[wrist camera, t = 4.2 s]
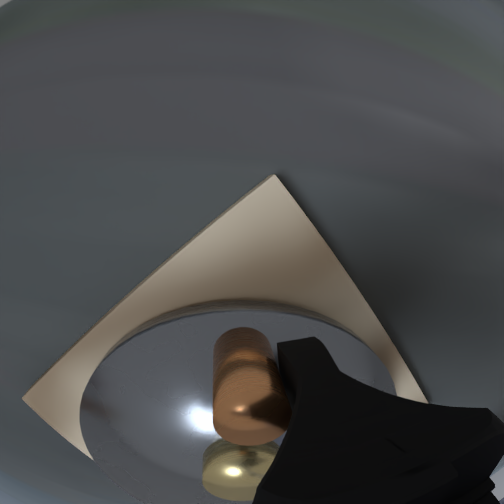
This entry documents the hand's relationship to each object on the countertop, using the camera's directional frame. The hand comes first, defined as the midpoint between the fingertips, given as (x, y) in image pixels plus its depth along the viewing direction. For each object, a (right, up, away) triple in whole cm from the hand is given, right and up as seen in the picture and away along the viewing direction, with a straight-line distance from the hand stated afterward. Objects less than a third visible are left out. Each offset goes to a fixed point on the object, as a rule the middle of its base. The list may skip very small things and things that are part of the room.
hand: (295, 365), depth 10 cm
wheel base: (-2, -5, +5) cm, 7 cm away
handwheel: (-2, -5, +3) cm, 7 cm away
